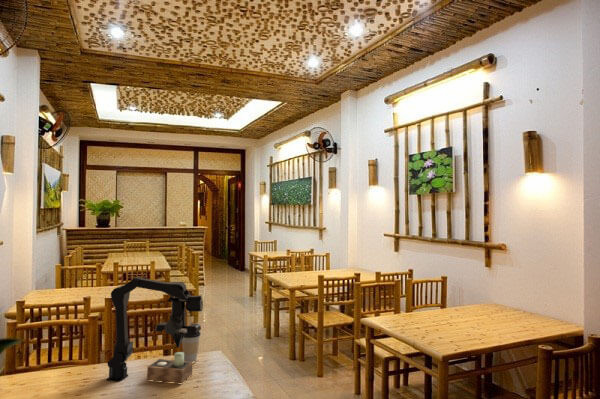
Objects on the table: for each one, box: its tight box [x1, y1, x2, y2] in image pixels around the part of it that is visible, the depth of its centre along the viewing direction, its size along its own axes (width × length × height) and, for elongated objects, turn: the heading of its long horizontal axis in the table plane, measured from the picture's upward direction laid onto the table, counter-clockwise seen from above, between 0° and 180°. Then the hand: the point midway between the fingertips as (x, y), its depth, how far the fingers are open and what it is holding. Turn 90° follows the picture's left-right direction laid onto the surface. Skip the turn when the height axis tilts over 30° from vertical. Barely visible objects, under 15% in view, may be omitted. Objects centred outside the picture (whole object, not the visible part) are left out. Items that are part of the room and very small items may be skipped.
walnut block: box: [146, 358, 193, 384], centre depth 180 cm, size 16×10×6 cm, turn 80°
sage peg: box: [173, 351, 184, 367], centre depth 179 cm, size 4×4×6 cm
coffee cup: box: [181, 331, 202, 362], centre depth 199 cm, size 9×9×15 cm
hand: (178, 347), depth 179 cm, fingers closed
